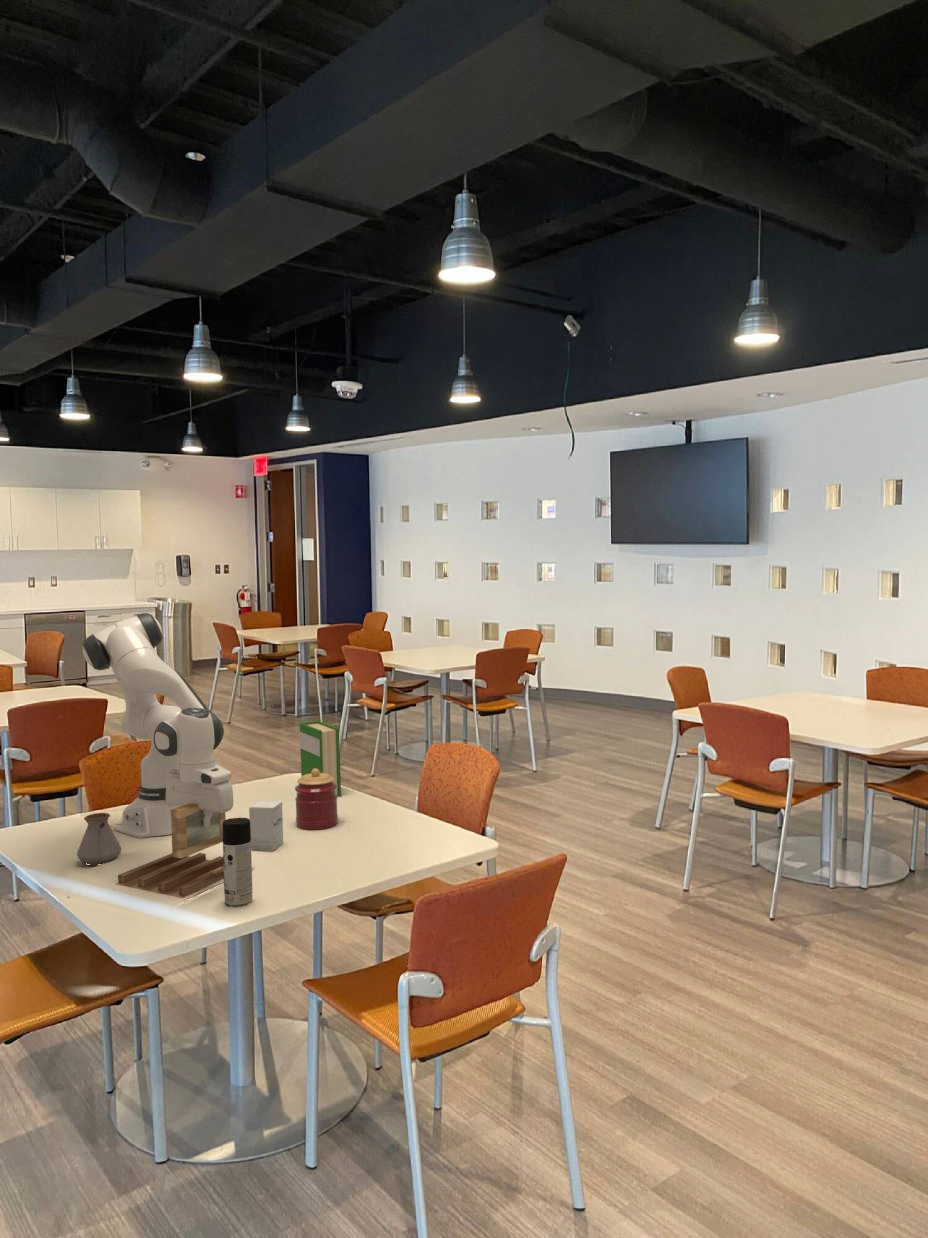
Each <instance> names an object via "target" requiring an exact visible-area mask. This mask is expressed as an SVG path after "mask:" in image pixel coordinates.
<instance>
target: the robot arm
mask: <svg viewBox="0 0 928 1238" xmlns="http://www.w3.org/2000/svg"><path fill="white" fill-rule="evenodd" d="M163 638H164V637H163V628H162V625H161V623H160V622H159V620H158V619H156V618H155V617H154V615H153V614H151V613H148V612H144V613H139V614H137V615H136V616H132V617H129V618H126V619H122V620H120V621H118V622H115V623H114V624H112V625H110V626H107V627H106V628H103V629H102V630H99V631H98V632H96V633H95V634H90V635H89V636H88V637H86V638H84V640H83V642H82V655H83V657H84V660H85V661H86V663H87V664H88V665H89V666H90V667H92V668H93V669H94V670H96V671H103V670H108V669H110V668H111V669H112V670H111V671H112V672H113V675H114V676H115V678H116V681H117V684H118V685H119V688H120V690H121V693H122V694H123V697H124V702H125V709H124V712H123V713H122V716H121V721H120V722H121V727H122V729H123V731H124V732H125V733H126V734H128V735H130V736H132V737H134V738H136V739H137V738H138V739H139V740H140V739H143V740H148V741H149V740H150V743H151V744H150V749H149V752H148V753H147V754H146V755H145V756H143V758H142V760H141V762H140V776H141V779H140V781H141V785H140V786H138V787H135V788H134V789H135V792H138V793H137V797H136V798H135V799H134V800H133V801H132V802H130V804H128V805H127V806H126V807H125V808H124V809H123V811H122V818H121V819H122V822H119V823H117V824H115V826H114V829H113V830H114V831H115V832H120V833H123V834H125V835H129V836H132V837H136V838H140V839H142V838H143V839H144V838H148V837H157V836H158V837H159V836H168V835H172V830H171V809H173V808H177V807H180V806H183V805H186V804H189V803H191V804H198V809H199V810H203V814H205V817H204V819H202V820H201V826H202V827H208V826H210V819H211V817H212V815H213V812H219V813H224V812H225V813H226V812H230V811H232V809H233V807H234V790H233V785H232V783H231V781H229V780H231V779H232V771H230V770H229V769H226V768H225V767H222V766H221V765H220V764H219V763H217V762H216V756H215V754H214V750H216V749H217V748H218V746H220V744H221V742H222V740H223V737H224V735H225V729H224V725H223V723H222V721H221V720H220V718H219V717H218V716H217V715H216V714H215V713H214V712H212V711H211V710H210V709H209V707H208V706H207V705H206V704H205V703H204V702H203V700H202V699H201V697H200V696H199V695H198V694H197V692H196V691H195V690H194V689H193V688H192V686H191V685H190V684H189V682H188V680H186V678H184V676H183V675H182V674H181V673H179V671H177V670H175V669H173V668H172V667H171V666H169V665H168V664H167V663H166V662H164V661H163V659H162V658H161V657H159V655H158V654H157V653H156V651H155V649H154V648H156V647H157V646H159V645H160V644H161V643H162V641H163ZM157 695H158V696H159V695H160V696H163V697H166V698H168V699H170V700H172V701H174V703H176V705H170V704H169V705H167V704H162V703H160V702H159V701H158V698H157Z"/></svg>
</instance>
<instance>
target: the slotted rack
mask: <svg viewBox="0 0 928 1238" xmlns="http://www.w3.org/2000/svg"><path fill="white" fill-rule="evenodd" d="M206 856H207V854H206V853H203V852H198V853H197V854H196V853H195V854H193V855H191V856H190V855H189V856H186V857H184V858H177V857H172V853H169V854H167V855H164V856H162V857H158V858H157V859H154V860H152V861H149V862H146V863H143V864H142V865H140V866H137V867H135V868H132V869H129V870H127V871H125V872H122V873H120V874H118V875H117V879H118V882H117V883H115V885H116V886H117V885H118V886H122V887H126V888H127V887H128V888H133V889H138V890H142V891H147V892H152V893H156V894H162V895H164V896H165V895H167V896H169V897H170V896H171V897H176V898H180V899H181V898H182V899H184V898H186V897H188V896H190V895H192V894H194V897H196V896H198V895H200V894H203V893H205V892H207V891H209V890H211V889H213V888H214V887H215V888H216V887H217V886H219V885H221V884H224V881H222V880H224V866H223V856H220V855H219V856H217V857H215V858H212V859H207V857H206ZM219 881H222V882H220V883H218V882H219ZM216 883H218V884H216ZM213 884H216V885H214V886H211V885H213ZM209 886H211V887H210V888H208V887H209ZM205 888H207V889H205ZM202 889H205V890H203V891H202V892H199V893H197V894H195V893H196V892H198V891H201V890H202ZM208 889H209V890H208ZM204 891H205V892H204ZM191 897H192V896H191ZM191 897H188V898H187V899H188V900H190V899H192V898H191ZM189 898H190V899H189ZM185 900H186V899H184V900H183V901H184V902H186V901H185Z"/></svg>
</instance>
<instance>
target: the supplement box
mask: <svg viewBox="0 0 928 1238" xmlns="http://www.w3.org/2000/svg"><path fill="white" fill-rule="evenodd" d="M248 810H249V814H248V815H249V820H250V829H251V851H262V852H274V851H276V849H277V848H279V847H280V846H281V845H283V844H284V824H283V823H284V821H283V818H284V817H283V801H281V800H280V801H278V800H259V801H257V802H256V803H254V804H253V805H251V806H249V807H248Z"/></svg>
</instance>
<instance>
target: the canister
mask: <svg viewBox="0 0 928 1238" xmlns="http://www.w3.org/2000/svg"><path fill="white" fill-rule="evenodd" d="M333 781H334V778H333V777H332V776H330V775H329V774H326V773H320V771H319V769H316V768H315V769H313V770H312V771H311V773H310V774H306V775H303V776H302V777H301V776H300V778H298V779H297V783H298V785H296V786H295V787H294V791H295V792H296V797H295V809H296V810H295V813H296V814H295V815H296V817H295V822H296V826H297V827H298V828H300V829H302V830H311V831H313V830H314V831H315V830H324V829H329V828H332V827H334V826H336V825H337V824H338V820H339V817H338V816H339V815H338V796H337V795H336V792H335V789H336V788H337V785H336V784H335V783H333Z"/></svg>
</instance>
